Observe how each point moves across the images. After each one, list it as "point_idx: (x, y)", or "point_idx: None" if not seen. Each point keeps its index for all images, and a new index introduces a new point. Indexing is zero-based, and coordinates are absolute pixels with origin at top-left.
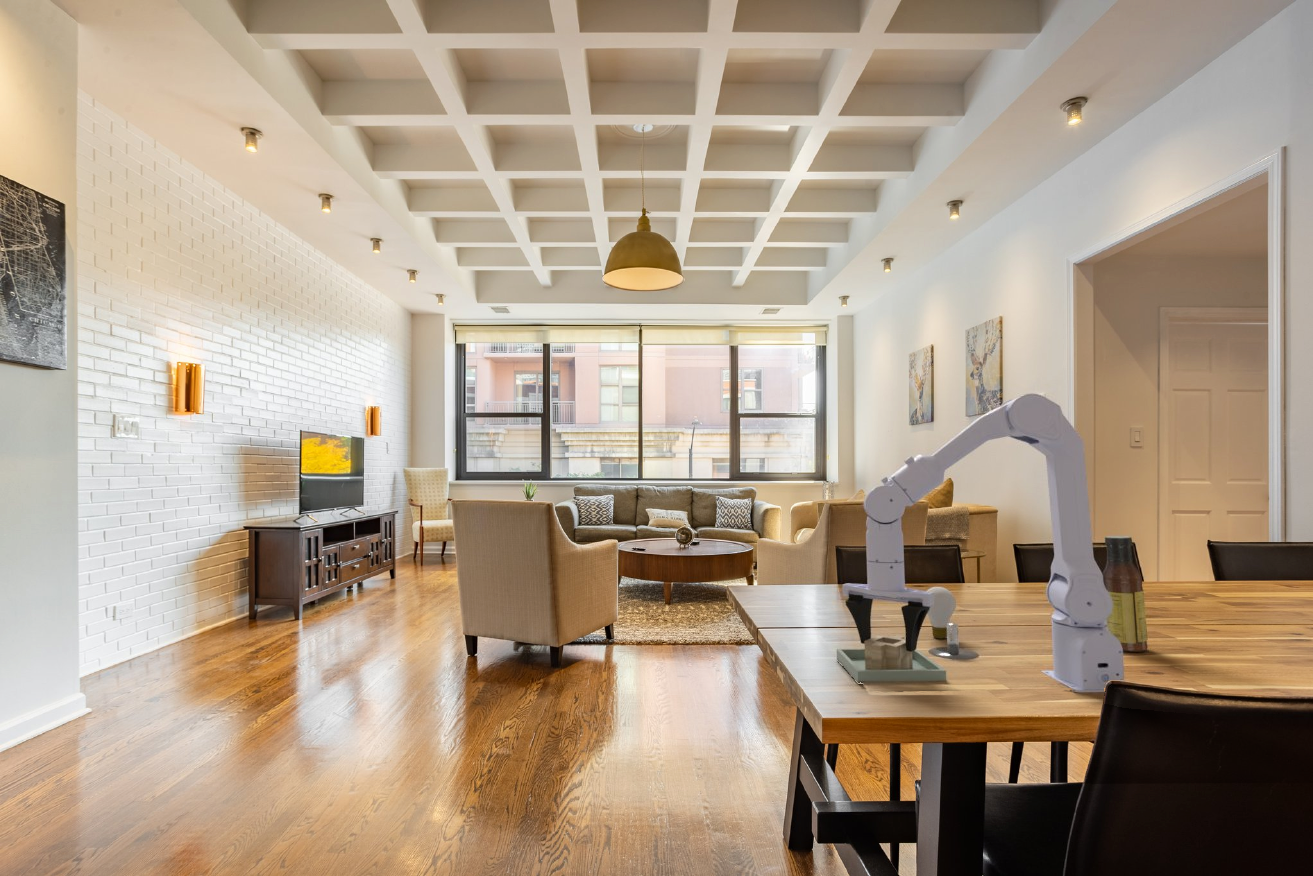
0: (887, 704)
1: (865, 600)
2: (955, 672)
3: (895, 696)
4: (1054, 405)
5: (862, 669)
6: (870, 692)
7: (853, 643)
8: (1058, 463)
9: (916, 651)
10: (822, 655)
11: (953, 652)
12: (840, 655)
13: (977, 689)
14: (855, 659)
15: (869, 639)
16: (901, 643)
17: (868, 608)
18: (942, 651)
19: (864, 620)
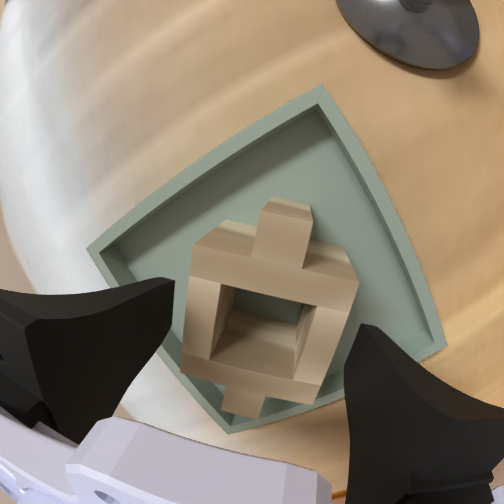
0: (315, 470)
1: (60, 419)
2: (457, 191)
3: (324, 441)
4: None
5: None
6: (272, 439)
7: (94, 24)
8: None
9: (342, 135)
10: (63, 202)
11: (421, 10)
12: None
13: (490, 325)
14: (148, 232)
15: (185, 347)
16: (323, 360)
17: (86, 357)
18: None
19: (123, 366)
